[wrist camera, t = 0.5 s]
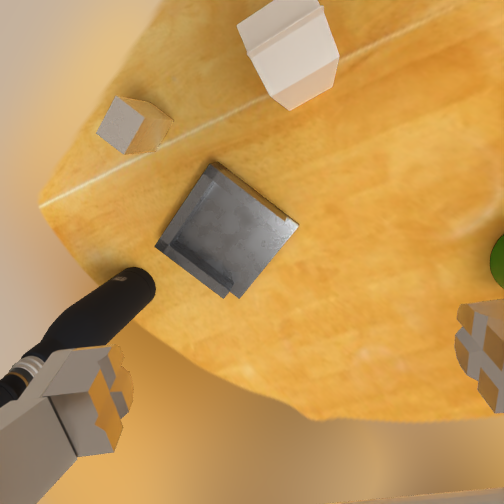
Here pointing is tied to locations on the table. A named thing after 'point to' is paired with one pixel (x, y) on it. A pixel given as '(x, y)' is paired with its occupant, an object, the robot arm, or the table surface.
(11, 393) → the black water bottle
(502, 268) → the green pencil holder
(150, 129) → the block
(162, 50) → the table surface
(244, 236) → the bracket
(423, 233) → the table surface
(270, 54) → the milk
